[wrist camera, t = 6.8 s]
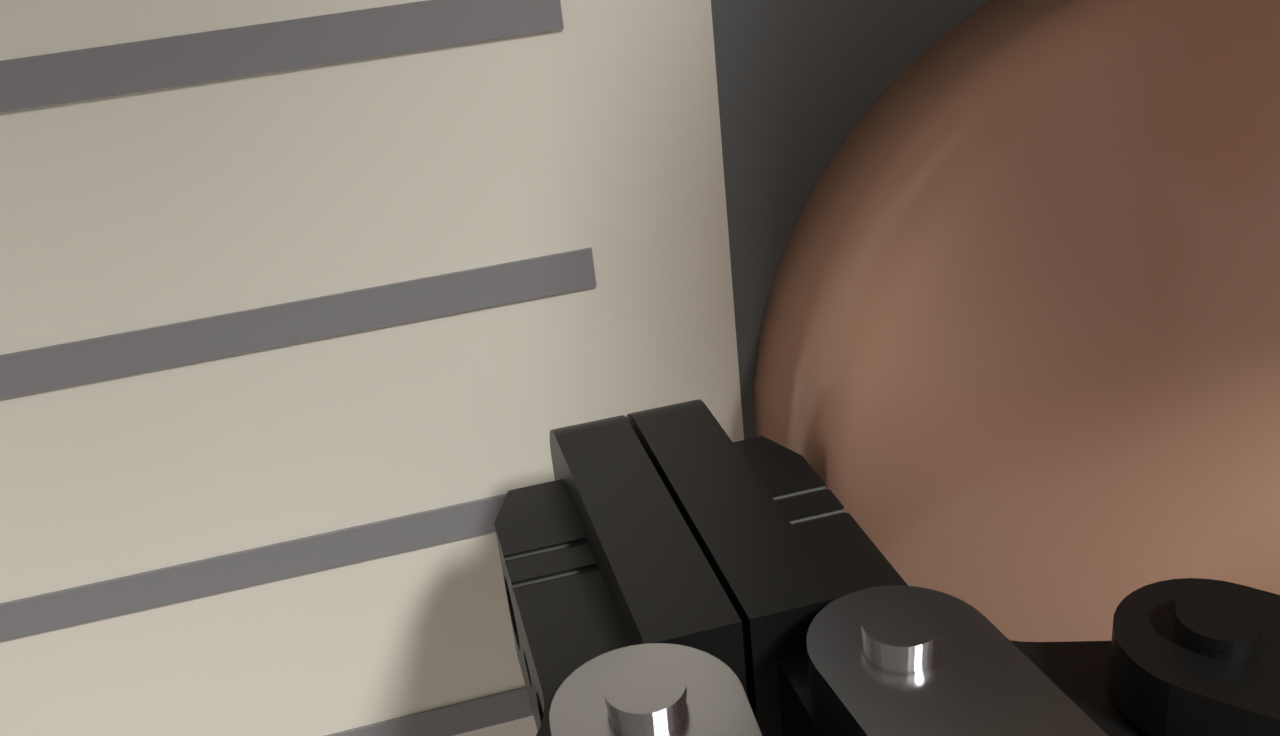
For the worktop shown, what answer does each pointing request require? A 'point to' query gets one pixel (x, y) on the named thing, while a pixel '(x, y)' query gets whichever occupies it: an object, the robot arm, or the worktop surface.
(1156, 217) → the peach domed disc
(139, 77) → the mat
